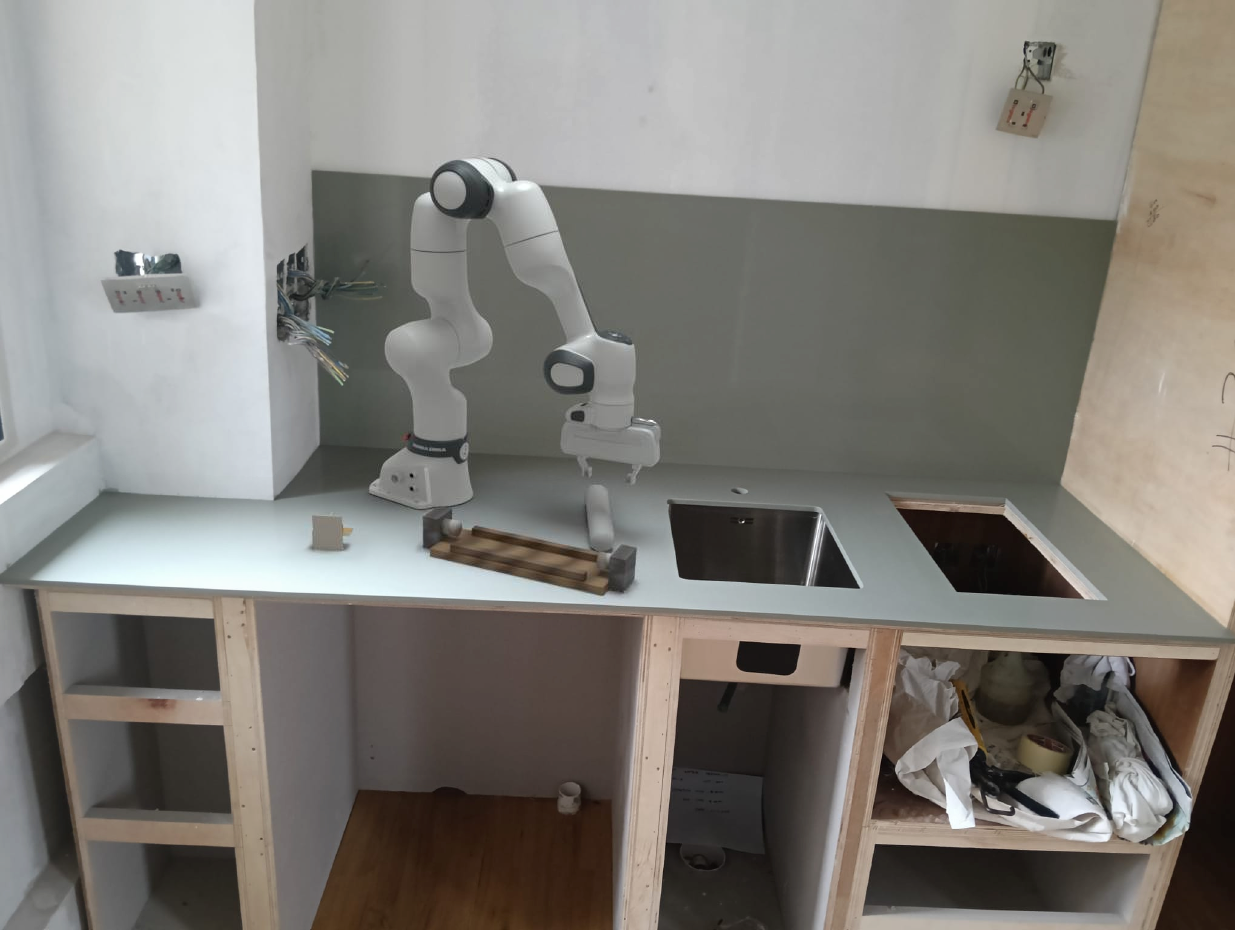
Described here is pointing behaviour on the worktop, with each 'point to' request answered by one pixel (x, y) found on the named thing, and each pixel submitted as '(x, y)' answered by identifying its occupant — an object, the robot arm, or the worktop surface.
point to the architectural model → (328, 532)
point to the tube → (599, 518)
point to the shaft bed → (528, 555)
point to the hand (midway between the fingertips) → (608, 479)
